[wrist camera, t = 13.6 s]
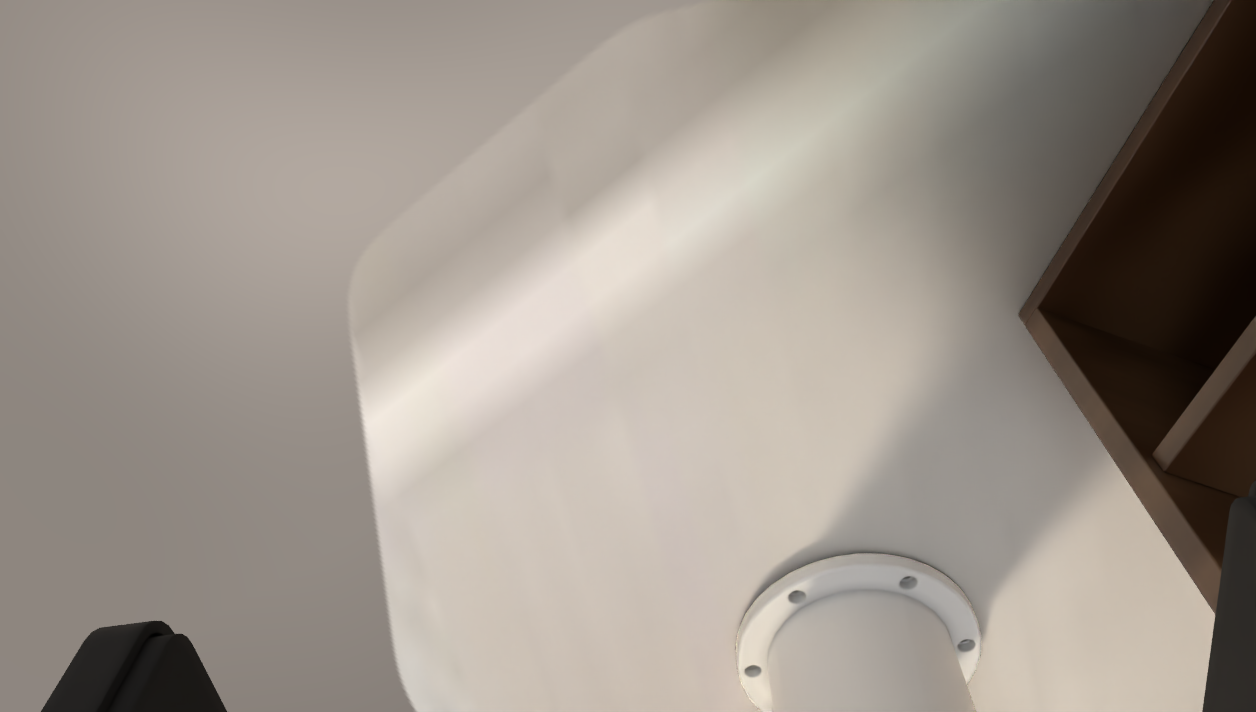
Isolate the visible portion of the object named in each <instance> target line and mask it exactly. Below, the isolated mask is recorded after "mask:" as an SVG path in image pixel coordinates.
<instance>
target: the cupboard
mask: <svg viewBox="0 0 1256 712" xmlns="http://www.w3.org/2000/svg"><path fill="white" fill-rule="evenodd" d="M1019 317H1020V319H1021V320H1022V322H1023V323H1024V325H1025V326H1026V328H1027V330H1028V331H1029V333H1030V334H1031V336H1032V337H1033V339H1034V340H1035V342H1036V343H1037V345H1038V346H1039V348H1040V349H1041V351H1042V352H1043V354H1044V355H1045V357H1046V359H1047V360H1048V362H1049V363H1050V365H1051V366H1052V368H1053V369H1054V371H1055V372H1056V374H1057V375H1058V377H1059V378H1060V380H1061V381H1062V383H1063V384H1064V386H1065V387H1066V389H1067V390H1068V392H1069V393H1070V395H1071V396H1072V398H1073V399H1074V401H1075V402H1076V404H1077V406H1078V407H1079V409H1080V410H1081V412H1082V413H1083V415H1084V416H1085V418H1086V419H1087V421H1088V422H1089V424H1090V425H1091V427H1092V428H1093V430H1094V431H1095V433H1096V434H1097V436H1098V437H1099V439H1100V440H1101V442H1102V443H1103V445H1104V446H1105V448H1106V449H1107V451H1108V453H1109V454H1110V456H1111V457H1112V459H1113V460H1114V462H1115V463H1116V465H1117V466H1118V468H1119V469H1120V471H1121V472H1122V474H1123V475H1124V477H1125V478H1126V480H1127V481H1128V483H1129V484H1130V486H1131V487H1132V489H1133V490H1134V492H1135V493H1136V495H1137V496H1138V498H1139V499H1140V501H1141V503H1142V504H1143V506H1144V507H1145V509H1146V510H1147V512H1148V513H1149V515H1150V516H1151V518H1152V519H1153V521H1154V522H1155V524H1156V525H1157V527H1158V528H1159V530H1160V531H1161V533H1162V534H1163V536H1164V537H1165V539H1166V540H1167V542H1168V543H1169V545H1170V546H1171V548H1172V550H1173V551H1174V553H1175V554H1176V556H1177V557H1178V559H1179V560H1180V562H1181V563H1182V565H1183V566H1184V568H1185V569H1186V571H1187V572H1188V574H1189V575H1190V577H1191V578H1192V580H1193V581H1194V583H1195V584H1196V586H1197V587H1198V589H1199V590H1200V592H1201V593H1202V595H1203V597H1204V598H1205V600H1206V601H1207V603H1208V604H1209V606H1210V607H1211V609H1212V610H1213V612H1214V613H1215V615H1216V608H1217V600H1218V593H1219V586H1220V578H1221V571H1222V563H1223V556H1224V548H1225V541H1226V534H1227V526H1228V519H1229V512H1230V508H1231V504H1232V503H1233V501H1234V500H1235V499H1237V498H1241V497H1248V494H1249V490H1250V487H1251V485H1252V484H1253V482H1254V481H1255V480H1256V0H1214V2H1213V3H1212V5H1211V6H1210V8H1209V10H1208V11H1207V13H1206V14H1205V16H1204V18H1203V19H1202V21H1201V22H1200V24H1199V26H1198V27H1197V29H1196V30H1195V32H1194V34H1193V35H1192V37H1191V39H1190V40H1189V42H1188V43H1187V45H1186V47H1185V48H1184V50H1183V51H1182V53H1181V55H1180V56H1179V58H1178V59H1177V61H1176V63H1175V64H1174V66H1173V67H1172V69H1171V71H1170V72H1169V74H1168V75H1167V77H1166V79H1165V80H1164V82H1163V83H1162V85H1161V87H1160V88H1159V90H1158V91H1157V93H1156V95H1155V96H1154V98H1153V100H1152V101H1151V103H1150V104H1149V106H1148V108H1147V109H1146V111H1145V112H1144V114H1143V116H1142V117H1141V119H1140V120H1139V122H1138V124H1137V125H1136V127H1135V128H1134V130H1133V132H1132V133H1131V135H1130V136H1129V138H1128V140H1127V141H1126V143H1125V144H1124V146H1123V148H1122V149H1121V151H1120V153H1119V154H1118V156H1117V157H1116V159H1115V161H1114V162H1113V164H1112V165H1111V167H1110V169H1109V170H1108V172H1107V173H1106V175H1105V177H1104V178H1103V180H1102V181H1101V183H1100V185H1099V186H1098V188H1097V189H1096V191H1095V193H1094V194H1093V196H1092V197H1091V199H1090V201H1089V202H1088V204H1087V206H1086V207H1085V209H1084V210H1083V212H1082V214H1081V215H1080V217H1079V218H1078V220H1077V222H1076V223H1075V225H1074V226H1073V228H1072V230H1071V231H1070V233H1069V234H1068V236H1067V238H1066V239H1065V241H1064V242H1063V244H1062V246H1061V247H1060V249H1059V250H1058V252H1057V254H1056V255H1055V257H1054V258H1053V260H1052V262H1051V263H1050V265H1049V267H1048V268H1047V270H1046V271H1045V273H1044V275H1043V276H1042V278H1041V279H1040V281H1039V283H1038V284H1037V286H1036V287H1035V289H1034V291H1033V292H1032V294H1031V295H1030V297H1029V299H1028V300H1027V302H1026V303H1025V305H1024V307H1023V308H1022V310H1021V311H1020V313H1019Z"/></svg>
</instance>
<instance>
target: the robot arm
mask: <svg viewBox="0 0 1256 712" xmlns="http://www.w3.org/2000/svg"><path fill="white" fill-rule="evenodd" d="M981 641H982V637H981V633H980V628H979V624H978V620H977V618H976V615H975V613H974V610H973V608H972V606H971V603H970V601H969V600H968V599H967V597H966V596H965V594H964V593H963V591H962V590H961V589H960V587H958V586H957V585H956V584H955V583H954V582H953V581H952V580H951V579H949V578H948V577H947V576H946V575H944V574H943V573H941V572H939V571H937V570H936V569H934V568H932V567H930V566H929V565H926V564H924V563H921V562H918V561H915V560H912V559H909V558H906V557H900V556H894V555H888V554H874V553H857V554H850V555H842V556H835V557H831V558H827V559H824V560H820V561H817V562H813V563H810V564H808V565H806V566H804V567H801V568H799V569H797V570H795V571H792V572H790V573H789V574H787V575H786V576H784V577H783V578H781V579H780V580H778V581H776V582H775V583H773V584H772V585H771V586H770V587H769V588H768V589H766V590H765V591H764V592H763V593H762V594H761V595H760V596H759V597H758V598H757V599H756V600H755V602H754V603H753V604H752V606H751V607H750V608H749V610H748V611H747V613H746V614H745V616H744V618H743V621H742V623H741V625H740V628H739V630H738V635H737V641H736V647H735V649H736V661H737V670H738V674H739V678H740V682H741V685H742V687H743V688H744V690H745V692H746V694H747V696H748V698H749V699H750V700H751V701H752V702H753V703H754V705H755V706H756V707H757V708H758V709H759V710H760V711H761V712H976V709H975V707H974V704H973V701H972V698H971V695H970V692H969V689H968V686H967V685H968V683H969V682H970V680H971V678H972V676H973V675H974V673H975V671H976V668H977V665H978V662H979V659H980V656H981ZM41 712H227V711H226V709H225V707H224V705H223V703H222V701H221V699H220V697H219V695H218V693H217V691H216V689H215V687H214V685H213V683H212V681H211V680H210V678H209V676H208V674H207V672H206V670H205V668H204V666H203V664H202V662H201V660H200V658H199V656H198V654H197V652H196V651H195V648H194V647H193V645H192V643H191V642H190V640H189V639H188V638H187V637H186V636H184V635H183V634H174V632H173V631H172V630H171V628H170V627H169V625H167V624H165V623H164V622H162V621H149V622H142V623H134V624H126V625H118V626H111V627H103V628H99V629H97V630H95V631H93V632H92V633H91V634H90V635H89V636H88V637H87V639H86V640H85V641H84V642H83V644H82V645H81V647H80V649H79V650H78V652H77V654H76V656H75V657H74V658H73V660H72V662H71V663H70V665H69V667H68V668H67V670H66V672H65V673H64V675H63V676H62V678H61V680H60V681H59V683H58V685H57V686H56V688H55V690H54V691H53V693H52V694H51V696H50V698H49V700H48V701H47V703H46V704H45V706H44V707H43V709H42V711H41ZM1203 712H1256V480H1255V481H1254V482H1253V484H1252V485H1251V487H1250V490H1249V494H1248V497H1241V498H1237V499H1235V500H1234V501H1233V503H1232V504H1231V508H1230V512H1229V519H1228V526H1227V534H1226V541H1225V548H1224V556H1223V563H1222V571H1221V578H1220V586H1219V593H1218V600H1217V608H1216V615H1215V623H1214V630H1213V638H1212V645H1211V652H1210V660H1209V667H1208V675H1207V682H1206V690H1205V697H1204V704H1203Z"/></svg>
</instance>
